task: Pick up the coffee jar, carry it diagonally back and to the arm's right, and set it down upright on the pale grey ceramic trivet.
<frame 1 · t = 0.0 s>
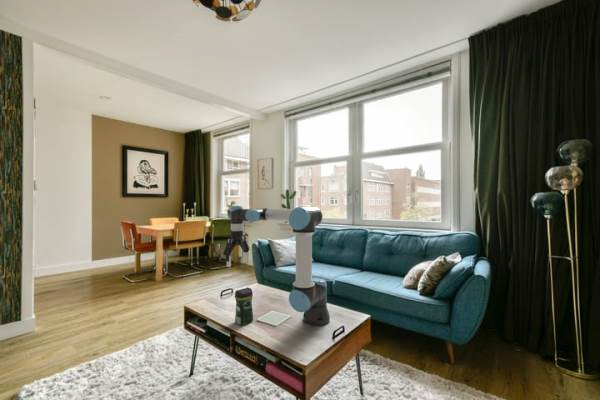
hand: (236, 264, 170), 28 cm above the table, fingers open, 13 cm apart
coffee jar: (243, 322, 152), on the table
trivet: (274, 318, 156), on the table
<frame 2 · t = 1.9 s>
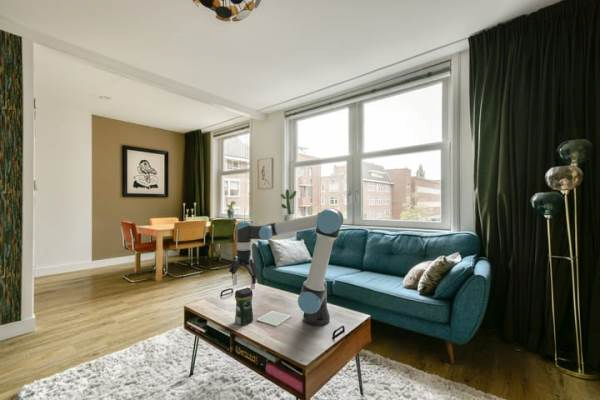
hand: (243, 287, 152), 19 cm above the table, fingers open, 13 cm apart
nothing on the table moved.
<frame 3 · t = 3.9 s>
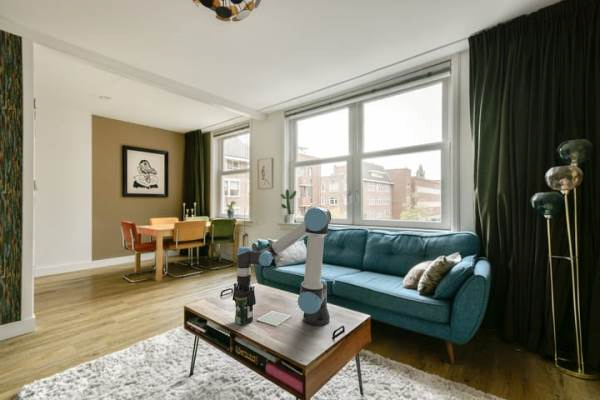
hand: (243, 315, 152), 4 cm above the table, fingers closed on coffee jar, 8 cm apart
coffee jar: (243, 322, 152), on the table, touching gripper
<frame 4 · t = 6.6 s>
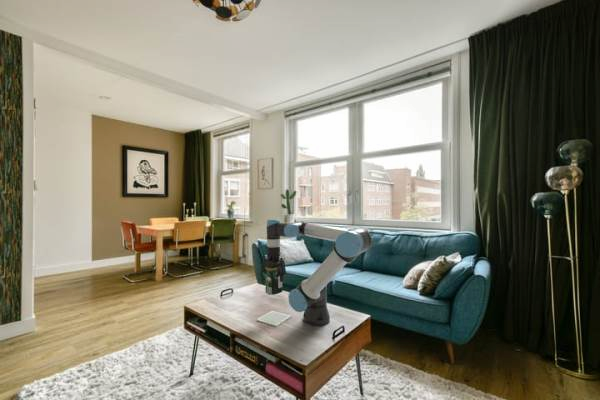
hand: (274, 286, 156), 19 cm above the table, fingers closed on coffee jar, 8 cm apart
coffee jar: (274, 292, 156), point 15 cm above the table, touching gripper
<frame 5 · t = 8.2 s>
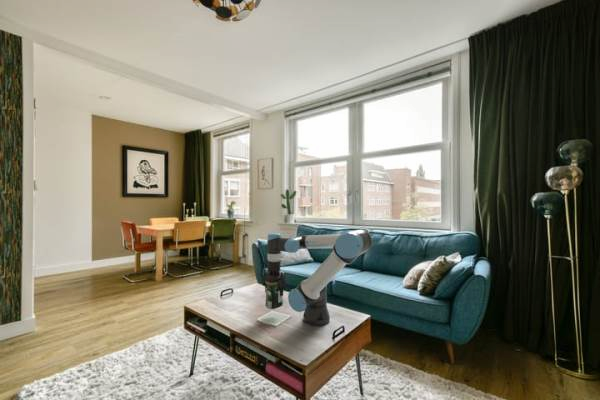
hand: (274, 299, 156), 11 cm above the table, fingers closed on coffee jar, 8 cm apart
coffee jar: (273, 306, 156), point 7 cm above the table, touching gripper
when the fingers open (6 cm above the table, at t = 9.6 s): coffee jar drops 1 cm, resting on trivet.
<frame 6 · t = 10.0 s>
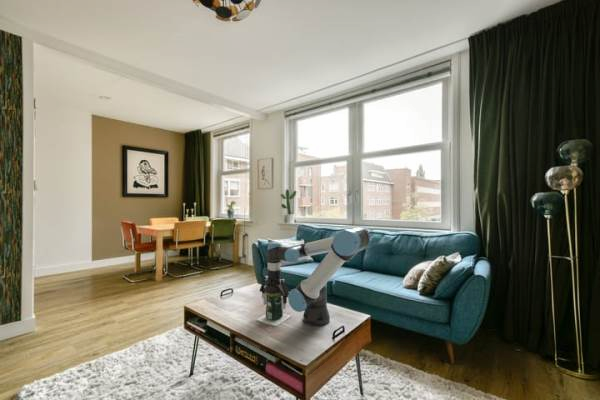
hand: (274, 306, 156), 7 cm above the table, fingers open, 13 cm apart
coffee jar: (274, 317, 156), point 1 cm above the table, touching trivet
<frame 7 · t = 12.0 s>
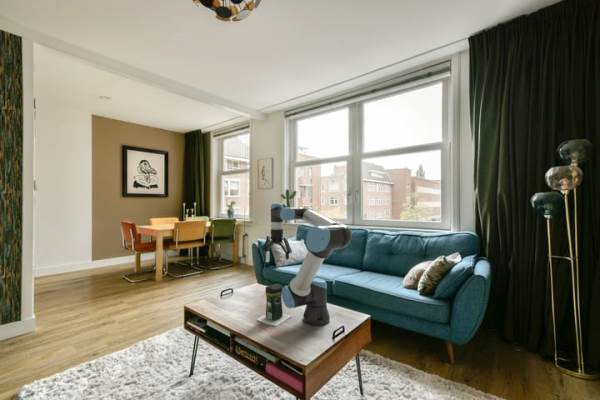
hand: (276, 263, 167), 29 cm above the table, fingers open, 13 cm apart
nothing on the table moved.
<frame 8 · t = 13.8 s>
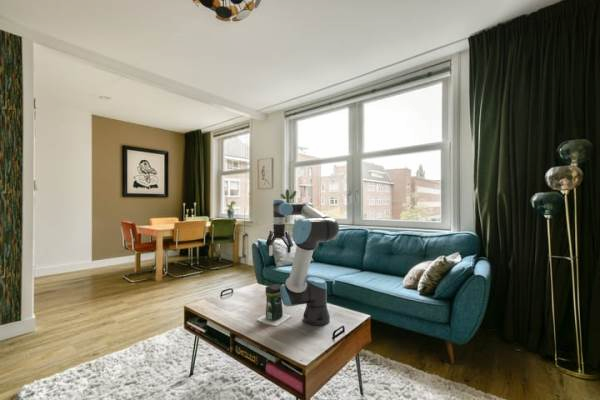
hand: (279, 256, 175), 32 cm above the table, fingers open, 13 cm apart
nothing on the table moved.
at the end: coffee jar inside the target area on the trivet (0.2 cm from its centre), point 0.7 cm above the trivet's base; coffee jar tilted 0°; the gripper is holding nothing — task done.
